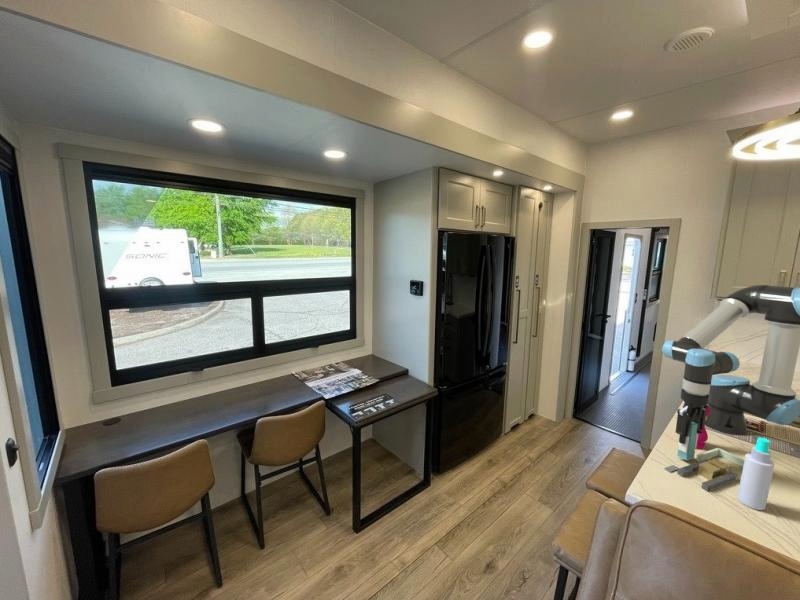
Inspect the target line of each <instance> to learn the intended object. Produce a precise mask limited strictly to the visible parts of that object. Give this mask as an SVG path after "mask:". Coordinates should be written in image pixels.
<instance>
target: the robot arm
mask: <svg viewBox="0 0 800 600" xmlns="http://www.w3.org/2000/svg"><path fill="white" fill-rule="evenodd" d="M750 314H760V315H761V314H762V315H764V321H765V322H766V323H767V324H768V329H767V334H766V339H765V346H764V350H763V356H762V359H761V364H760V365H761V366H760V372H759V376H758V380H757V381H754V382H753V383H752V384H751V381H750V379H748V378H746V377H742V376H737V375H730V373H732V372H735V371H737V370H738V369H739V367H740V365H741V364H740V359H739V358H738V357H737V355H736V354H734V353H732V352H729V351H715V350H714V351H713V350H710V349H706V347H707V346H708V345H710V343H712V342H713V341H714V340H716V339H717V338H718V337H719V336H720V335H721V334H722V333H724V332H725V331H726V330H727V329H728V328H729V327H731V326H732V325H733V324H734V323H735V322H737V321H738V320H739V319H741V318H745V317H747V316H748V315H750ZM661 351H662V354H663V356H664V357H666V358H668V359H671V360H673V361H678V362H680V363H683V364H684V372H683V378H682V385H681V388H682V389H681V392H680V399H681V400H682V401H683V405H682V408H681V409H680V408H678V409H677V411H676V412H677V413H676V414H677V418H676V424H675V425H676V426H675V433H676V434H677V435H679V436H678V443H677V450H678V449H679V450H681V451H683V452H685V453H687V450H688V443H689V436H688V434H689V430H690V427H691V423H692V422H694V423H697V424H698V427H697V434H696V440H695V447H694V450H695V451H696V450H697V449H696V446H697V439H698V433H700V434H702V432H701V431H700V430H703V428H704V422H705V426H707V427H708V428H710V429H713V430H716V431H718V432H722V433H724V434H725V433H726V434H730V435H731V434H732V435H745V434H746V433H747V430H748V425H747V422H746V418H745V417H746V416H745V413H747V414H750V415H752V416H754V417H757V418H760V419H763V420H765V421H767V422H769V423H770V422H771V423H774V424H776V425H779V426H786V425H789V424H791V423H793V422H794V421H795V420H796V419H797V418H799V416H800V400H799V398H798V399H797V398H796V396H797V392H796V391H795V390H794V389H793V388H792V385H793V381H794V374H795V371H796V370H795V369H796V365H797V362H798V361H797V360H798V356H799V351H800V287H793V286H781V285H780V286H779V285H778V286H777V285H768V284H767V285H766V284H756V285H751V286H747V287H743V288H741V289H738V290H735V291H734V292H732V293H730V294H729V295H727V296H726V297H724V298H723V299H722V300H721V301H720V303H719V306H718V307H716V308H715V309H714V310H712V312H711V313H709V314H708V315H707V316H706V317H705V318H703V319H702V320H701V321H700V322H698V324H697V325H696V326H694V327H693V328H692V329H690V330H689V331H688V332H687V333H686V334H685V335H683V336H682V337H681V338H680V339H678V340H673V339H670V340H666V341H665V342H664V343H663V345H662V348H661ZM728 373H729V375H728ZM707 405H708V406H709V408H710V413H709V414H708V415H707V420H705V416H706V411H707V408H708V406H707Z"/></svg>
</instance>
